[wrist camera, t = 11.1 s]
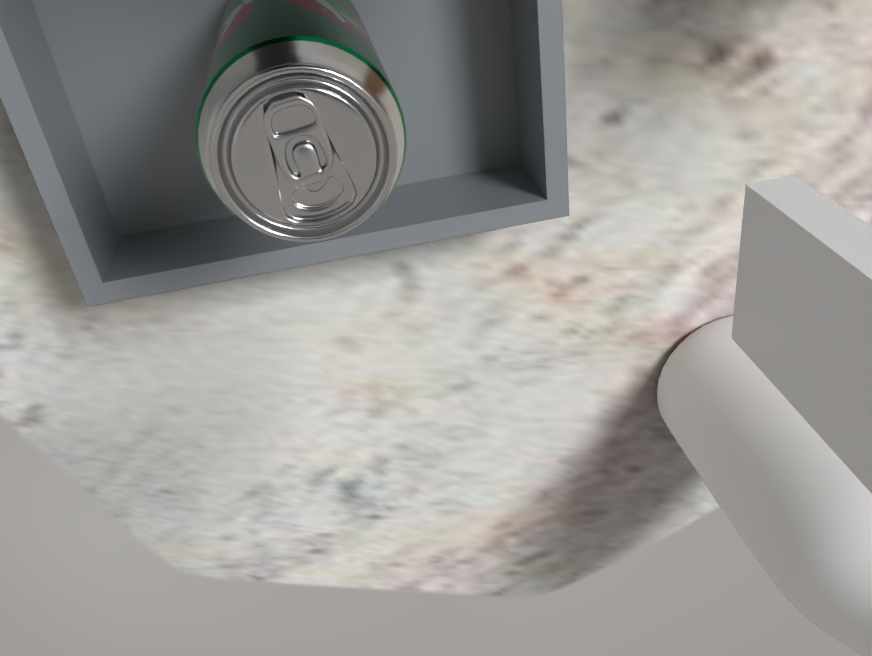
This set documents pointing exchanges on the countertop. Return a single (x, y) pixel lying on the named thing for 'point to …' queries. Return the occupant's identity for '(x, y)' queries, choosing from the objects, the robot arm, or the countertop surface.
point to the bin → (177, 113)
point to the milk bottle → (774, 481)
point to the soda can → (299, 119)
